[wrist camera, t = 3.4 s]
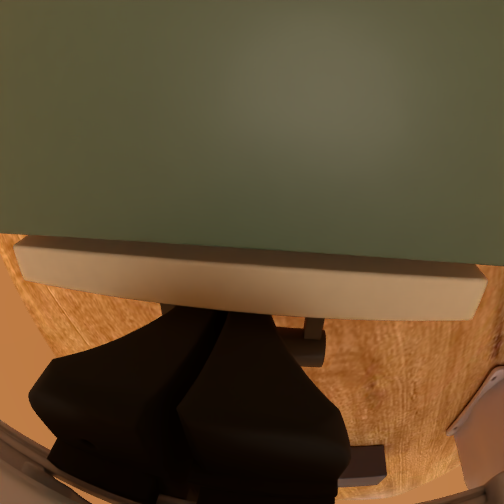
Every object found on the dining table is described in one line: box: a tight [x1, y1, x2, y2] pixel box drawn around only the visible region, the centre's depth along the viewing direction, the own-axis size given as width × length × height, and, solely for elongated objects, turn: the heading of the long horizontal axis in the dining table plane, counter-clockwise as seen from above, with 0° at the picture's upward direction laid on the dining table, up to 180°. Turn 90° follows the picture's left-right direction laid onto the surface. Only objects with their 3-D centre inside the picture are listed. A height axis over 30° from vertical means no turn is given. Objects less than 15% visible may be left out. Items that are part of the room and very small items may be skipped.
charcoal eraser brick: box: [338, 445, 387, 487], centre depth 21 cm, size 3×8×3 cm, turn 90°
